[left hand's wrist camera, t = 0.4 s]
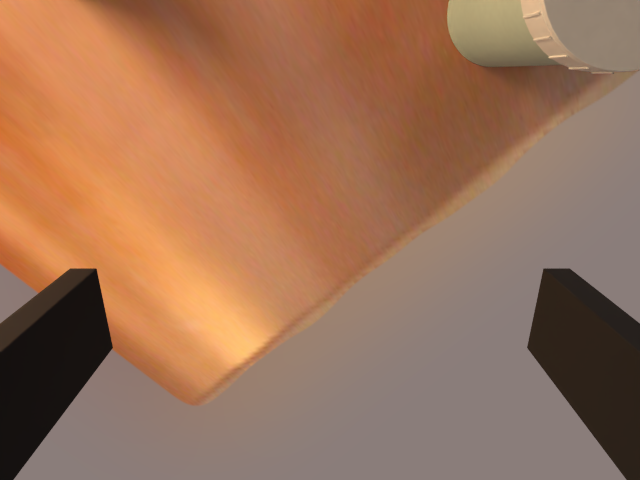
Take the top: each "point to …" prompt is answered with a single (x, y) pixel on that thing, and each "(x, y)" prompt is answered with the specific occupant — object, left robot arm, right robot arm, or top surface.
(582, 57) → the lid
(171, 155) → the top surface
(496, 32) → the screw-top jar
